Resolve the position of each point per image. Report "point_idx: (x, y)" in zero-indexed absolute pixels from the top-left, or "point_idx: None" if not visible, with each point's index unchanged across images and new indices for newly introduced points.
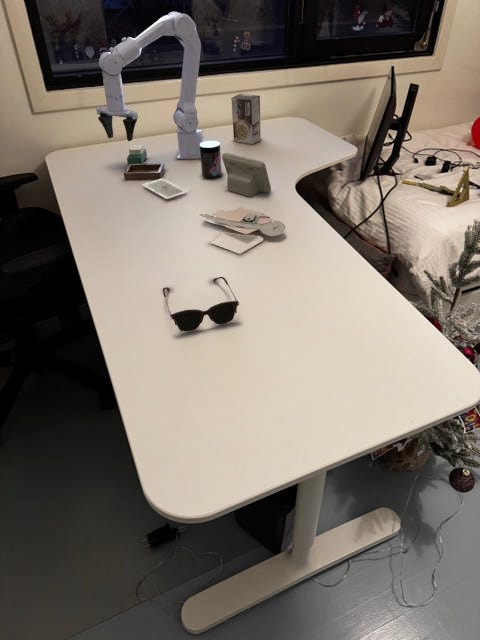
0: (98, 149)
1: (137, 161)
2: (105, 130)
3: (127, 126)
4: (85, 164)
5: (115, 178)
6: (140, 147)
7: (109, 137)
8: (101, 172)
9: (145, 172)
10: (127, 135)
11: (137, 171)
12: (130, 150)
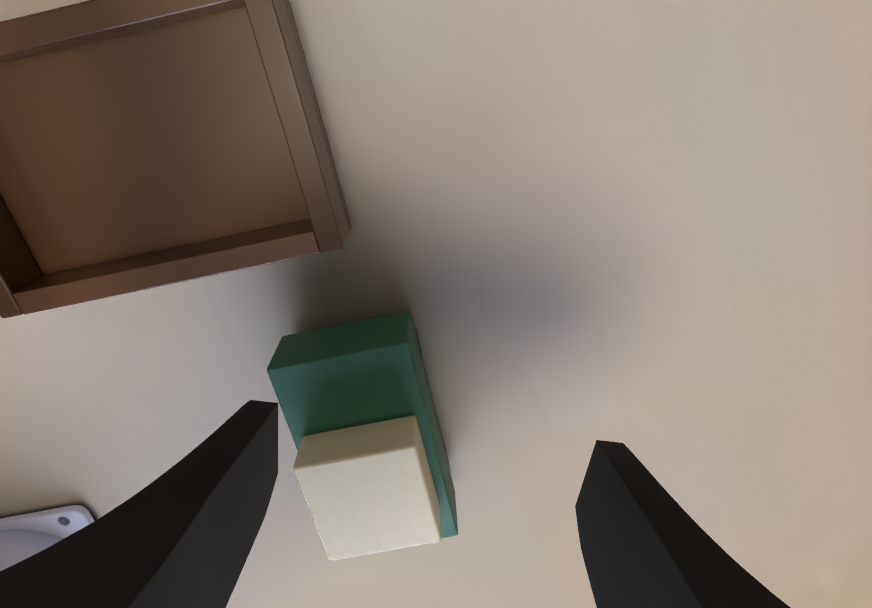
0: (805, 584)
1: (312, 341)
2: (692, 522)
3: (67, 564)
4: (840, 310)
5: (413, 11)
6: (322, 513)
7: (603, 446)
8: (625, 150)
9: (15, 31)
10: (224, 446)
11: (246, 186)
12: (398, 444)
